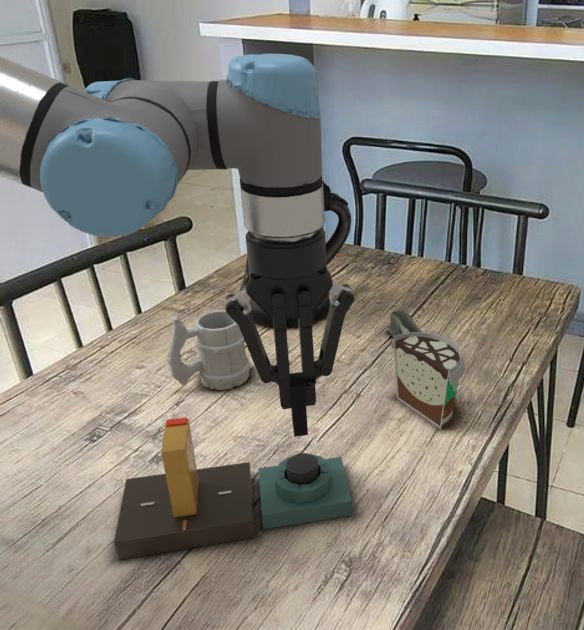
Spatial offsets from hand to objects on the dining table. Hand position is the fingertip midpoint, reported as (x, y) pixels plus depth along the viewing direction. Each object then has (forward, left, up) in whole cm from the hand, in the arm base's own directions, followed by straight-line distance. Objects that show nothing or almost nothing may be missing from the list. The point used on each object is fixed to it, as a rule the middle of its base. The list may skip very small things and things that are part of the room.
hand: (300, 428), depth 76 cm
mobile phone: (+20, +31, -10) cm, 38 cm away
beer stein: (+3, +51, -10) cm, 52 cm away
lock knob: (-13, 0, -8) cm, 15 cm away
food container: (+20, +15, -10) cm, 27 cm away
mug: (-11, +28, -10) cm, 32 cm away
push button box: (0, 0, -10) cm, 10 cm away
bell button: (0, 0, -7) cm, 7 cm away
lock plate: (-13, 0, -10) cm, 17 cm away
